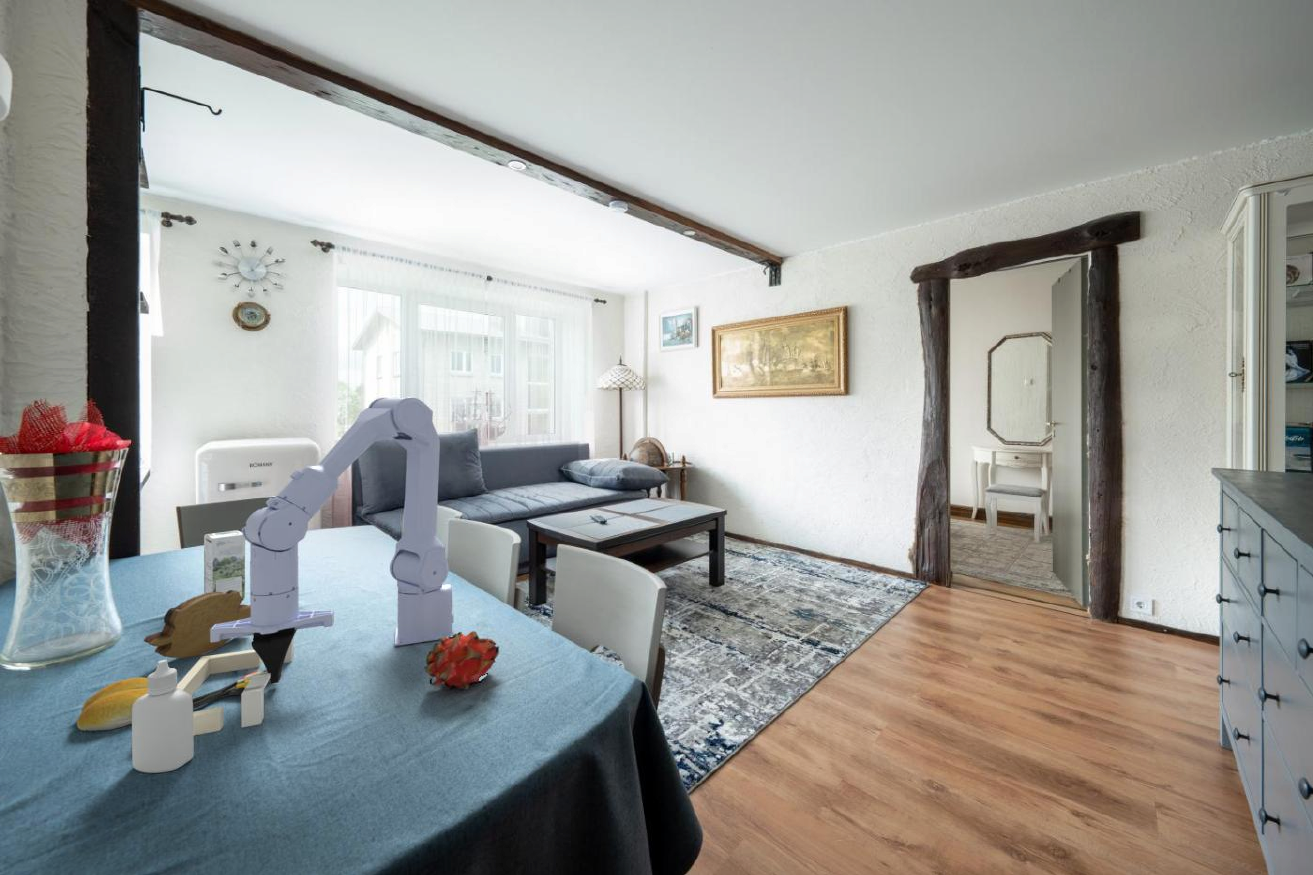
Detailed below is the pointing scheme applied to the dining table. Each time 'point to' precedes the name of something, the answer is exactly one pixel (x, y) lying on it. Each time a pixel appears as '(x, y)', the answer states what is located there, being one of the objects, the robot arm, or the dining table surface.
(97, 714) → the bread roll
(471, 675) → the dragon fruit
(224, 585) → the syrup box
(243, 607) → the wooden carving
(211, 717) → the end holder
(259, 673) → the composite cable
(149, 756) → the eye dropper bottle
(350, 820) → the dining table surface
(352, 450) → the robot arm
